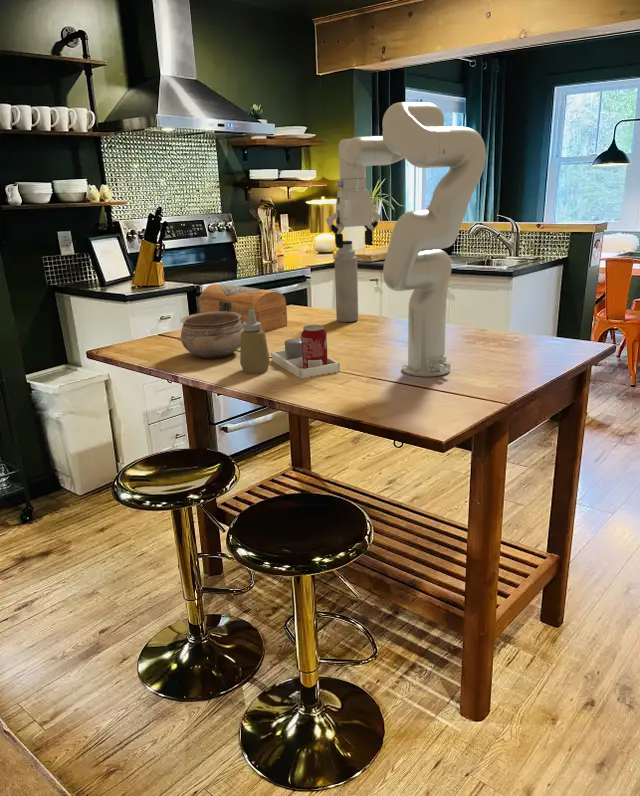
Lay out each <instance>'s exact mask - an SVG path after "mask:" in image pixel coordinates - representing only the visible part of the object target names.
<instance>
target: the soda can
mask: <svg viewBox="0 0 640 796" xmlns="http://www.w3.org/2000/svg"><path fill="white" fill-rule="evenodd" d="M324 328H325V326H324V325H323V324H307V325H305V326H303V328H302V329H303V330H302V331H301V334H300V337H301V341H302V360H303V367H302V369H306V368H311V367H317V366H323V365H328V358H327V357H328V337H327V336H328V335H327V332H326V330H325V329H324Z"/></svg>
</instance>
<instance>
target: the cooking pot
mask: <svg viewBox="0 0 640 796" xmlns="http://www.w3.org/2000/svg"><path fill="white" fill-rule="evenodd" d="M240 317H241V315H240V314H238V313H235V312H227V311H215V312H204V313H200V312H198V313H193V314H190V315H187V316H184V317H182V318H181V323H183V325H182V327H181V332H180V337H177V341H179V342H181V343H182V346H183V347H184V349H186V351H188V352H189V353H190V354H192V355H194V356H196V357H199V358H202V359H206V360H207V359H209V360H211V359H212V360H215V359H221V358H225V357H229V356H231V355H232V354H233V353H234V352H236V351H237V350H239V348H240V344H241V333H242V332H243V331H244V327H243V324H244V323H245V321H240V320H239V318H240ZM242 323H243V324H242Z"/></svg>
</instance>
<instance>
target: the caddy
mask: <svg viewBox="0 0 640 796" xmlns="http://www.w3.org/2000/svg"><path fill="white" fill-rule="evenodd" d="M270 353H271V357H270V358H271V361H272V362H273V363H275V364H276V365H278V366H280V367H281V368H283V369H285V370H286V371H287V372H289V373H291V374H292V373H293V374H292V375H294V376H295V375H296V377H297V376H298V377H297V378H299V379H305V378H304V377H306V378H310V376H312V377H317V376H316V375H318V376H323V375H322V374H324V375H329V374H328V373H330V374H335V373H334V372H336V373H340V372H341V366H340V364H341V363H340V362H338V361H337V360H334V359H333V358H331V357H329V356H327V358H328V365H323V366H317V367H311V368H306V369H303V360H302V341H301V338H300V337H298V338H297V337H295V338H289V339H286V340H285V341H284V349H282V350H277V351H271V352H270ZM301 368H302V369H301Z"/></svg>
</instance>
